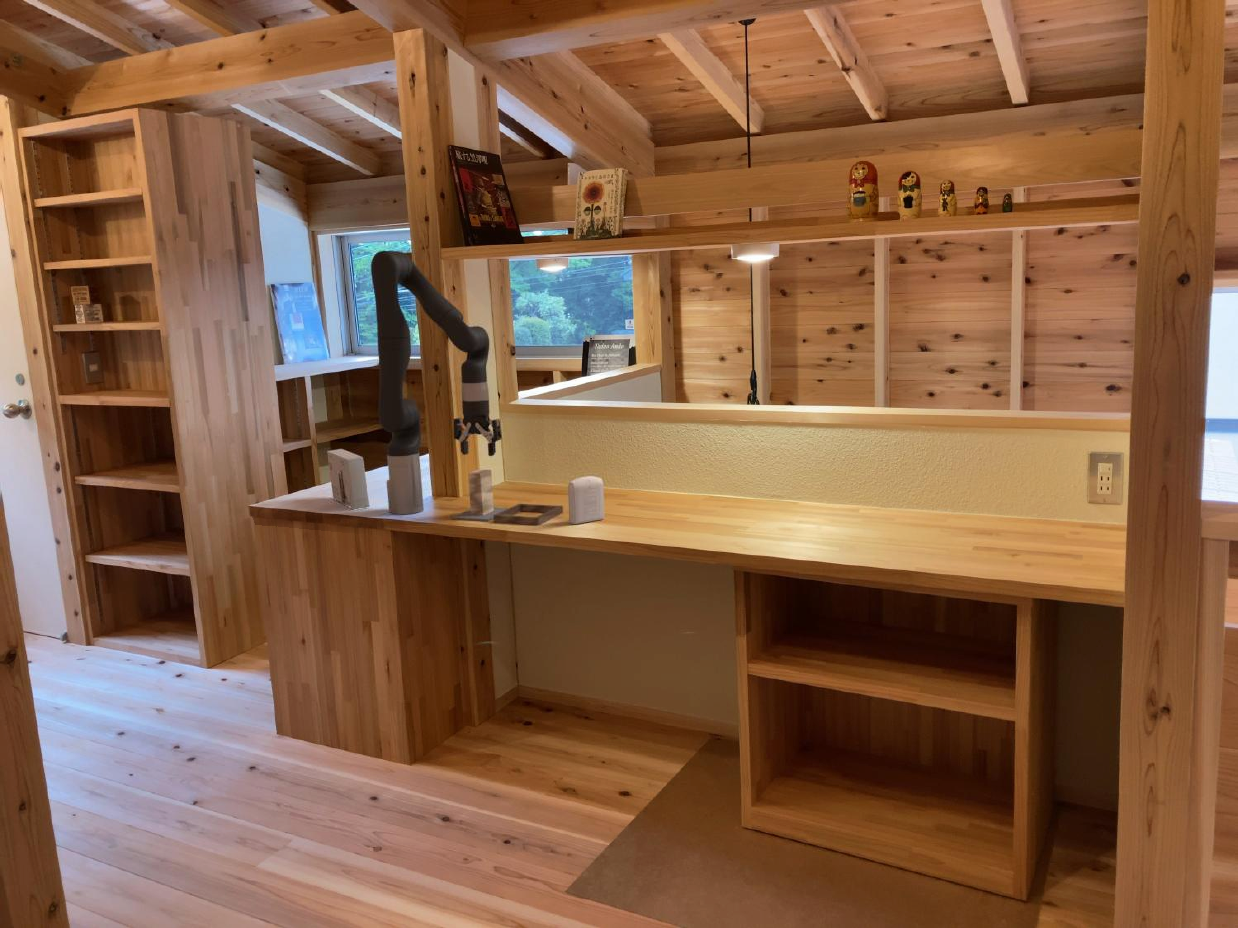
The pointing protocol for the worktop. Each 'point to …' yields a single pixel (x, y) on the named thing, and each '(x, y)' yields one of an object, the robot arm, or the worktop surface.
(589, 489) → the photo printer
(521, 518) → the frame
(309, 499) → the worktop surface
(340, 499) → the skincare box
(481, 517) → the grey mat
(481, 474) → the block
